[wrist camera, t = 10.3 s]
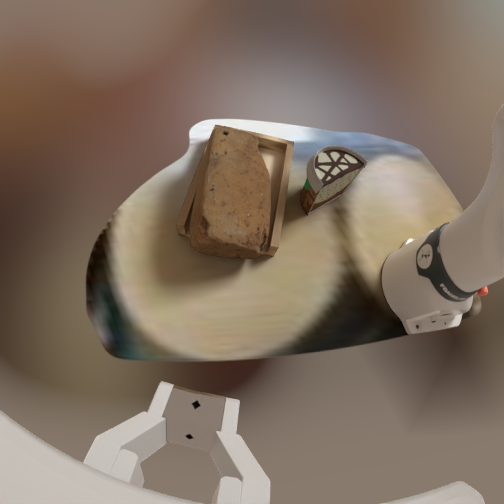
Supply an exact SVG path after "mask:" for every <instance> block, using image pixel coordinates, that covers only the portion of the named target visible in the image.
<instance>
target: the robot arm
mask: <svg viewBox="0 0 504 504" xmlns="http://www.w3.org/2000/svg"><path fill="white" fill-rule="evenodd" d="M492 137H493V156H492V162H491V167H490V171H489V174H488V177H487V179H486V182H485V184H484V187H483V188H482V190H481V192H480V194H479V195H478V197H477V198H476V199H475V201H474V202H473V203H472V204H471V205H470V206H469V207H468V208H467V209H466V210H465V211H464V212H462V213H461V214H460V215H459V216H458V217H457V218H455V219H454V220H453V221H452V222H449V223H445V224H443V225H442V226H440V227H438V228H436V229H435V230H434V231H433V230H432V231H429V232H427V233H425V234H423V235H422V236H420V237H418V238H416V239H415V240H414V239H412V238H409V239H408V240H406V241H405V242H404V243H403V245H402V247H401V248H400V249H398V250H396V251H394V252H392V253H391V254H390V255H389V256H388V258H387V259H386V261H385V263H384V266H383V270H382V287H383V291H384V295H385V298H386V300H387V302H388V304H389V306H390V307H391V309H392V310H393V312H394V313H395V314H396V315H397V316H398V317H399V318H400V319H401V321H402V323H403V326H404V328H405V330H406V332H407V333H408V334H409V335H414V334H419V333H426V332H432V331H438V330H443V329H448V328H453V327H456V326H458V325H459V323H460V321H461V318H462V313H464V312H467V311H468V310H469V309H470V307H471V304H472V300H473V294H475V293H476V292H477V291H478V296H483V295H486V294H487V293H488V290H487V285H489V284H491V283H493V282H496V281H498V280H500V279H502V278H504V104H503V105H502V106H501V107H500V108H499V110H498V111H497V113H496V115H495V118H494V121H493V125H492ZM416 326H417V328H416ZM239 405H240V401H239V400H237V399H231V398H226V397H223V396H218V395H213V394H208V393H204V392H197V391H194V390H190V389H186V388H183V387H180V386H176V385H173V384H169V383H166V382H163V381H161V382H160V384H159V386H158V388H157V391H156V393H155V395H154V397H153V400H152V402H151V405H150V407H149V409H148V411H147V412H141V413H139V414H138V415H136V416H134V417H132V418H130V419H129V420H127V421H125V422H123V423H121V424H120V425H118V426H116V427H114V428H112V429H110V430H108V431H106V432H104V433H102V434H100V435H99V436H97V437H96V438H95V440H94V442H93V444H92V446H91V448H90V450H89V452H88V454H87V456H86V458H85V460H84V462H83V463H82V462H80V461H78V460H76V459H74V458H72V457H70V456H68V455H67V454H65V453H63V452H61V451H59V450H58V449H56V448H54V447H53V446H51V445H49V444H48V443H46V442H45V441H43V440H41V439H40V438H38V437H37V436H35V435H34V434H32V433H31V432H29V431H28V430H26V429H25V428H23V427H22V426H21V425H19V424H18V423H16V422H15V421H14V420H12V419H11V418H10V417H8V416H7V415H6V414H5V413H3V412H2V411H1V410H0V504H203V503H199V502H194V501H189V500H185V499H181V498H176V497H173V496H169V495H165V494H162V493H158V492H155V491H152V490H149V489H146V488H142V486H143V482H144V478H143V474H142V470H141V466H140V463H141V462H142V461H143V460H145V459H146V458H148V457H149V456H150V455H152V454H153V453H154V452H156V451H157V450H158V449H159V448H161V447H162V446H164V445H165V444H166V442H168V443H172V444H176V445H180V446H185V447H188V448H192V449H196V450H201V451H205V452H209V453H210V455H211V457H212V459H213V461H214V463H215V465H216V467H217V469H218V472H219V474H220V476H221V480H220V482H219V484H218V487H217V489H216V491H215V494H214V496H213V499H212V504H270V480H269V478H268V477H267V476H266V474H265V473H264V471H263V470H262V468H261V467H260V465H259V464H258V462H257V461H256V459H255V458H254V456H253V455H252V453H251V452H250V450H249V449H248V447H247V445H246V444H245V442H244V441H243V439H242V438H241V436H240V435H237V434H236V430H237V422H238V413H239ZM381 504H485V502H484V500H483V497H482V496H481V494H480V493H478V492H477V491H476V490H475V489H473V488H472V487H470V486H469V485H467V484H466V483H464V482H462V481H458V482H454V483H451V484H449V485H446V486H443V487H440V488H437V489H434V490H431V491H428V492H425V493H422V494H418V495H415V496H411V497H407V498H403V499H399V500H395V501H391V502H386V503H381Z"/></svg>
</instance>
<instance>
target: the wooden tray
mask: <svg viewBox="0 0 504 504" xmlns="http://www.w3.org/2000/svg"><path fill="white" fill-rule="evenodd" d="M217 127H223V126H220V125H215V127H214V129H215V128H217ZM230 128H231V127H230ZM214 129H213V130H214ZM234 129H236V128H234ZM238 130H241V129H238ZM242 131H245V130H242ZM212 132H213V131H212ZM246 132H248V133H250V134H252V135H254V136H256V137H257V138H258V141H259V145H258V150H259V152H260V153H261V154H262V157H263V159H264V162H265V164H266V167H267V169H268V172H269V175H270V184H271V199H270V202H271V209H270V225H269V234H268V239H267V243H266V246H265V248H264V252H263V254H266V255H270V256H274V255H275V253H276V251H277V249H278V248H279V242H280V235H281V229H282V223H283V216H284V210H285V203H286V196H287V189H288V183H289V176H290V169H291V161H292V154H293V147H294V142H292V141H288V140H284V139H280V138H276V137H272V136H268V135H264V134H259V133H255V132H250V131H246ZM211 134H212V133H211ZM207 144H208V143H207ZM206 148H207V145H206ZM206 148H205V150H204V152H203V155H202V157H201V160H200V162H199V165H198V167H197V170H196V172H195V175H194V177H193V180H192V183H191V185H190V188H189V191H188V193H187V196H186V199H185V201H184V204H183V207H182V210H181V213H180V215H179V218H178V221H177V224H176V225H177V229H178V234H179V235H182V236H187V237H190V222H191V215H192V210H193V203H194V198H195V194H196V189H197V184H198V180H199V175H200V171H201V166H202V162H203V158H204V155H205V152H206Z"/></svg>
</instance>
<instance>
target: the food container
mask: <svg viewBox="0 0 504 504" xmlns="http://www.w3.org/2000/svg"><path fill="white" fill-rule="evenodd" d="M367 162H368V161H367V160H366V159H365V158H364V157H362V156H361V155H360V154H358V153H357V152H355V151H353V150H351V149H349V148H346V147H342V146H327V147H324V148H322V149H321V150H319V151H317V152H316V153H315V154H314V155H313V156H312V158H311V159H310V160H309V162H308V164H307V179H306V182H305V185H304V188H303V191H302V194H301V204H302V207H303V209H304V211H305V213H306V214H307V215H309V214H311V213H312V212H314V211H316V210H317V209H319V208H321V207H323V206H324V205H326V204H328V203H329V202H331V201H333V200H334V199H336V198H338V197H340V196H341V195H342V194H343V193H344V192H345V191H346V189H347V188H348V187H349V185H350V184H351V183H352V181H353V180H354V179H355V178H356V176H357V175H358V174H359V172H360V171H361V170H362V168H364V167H365V166H366V164H367Z"/></svg>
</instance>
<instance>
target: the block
mask: <svg viewBox="0 0 504 504" xmlns="http://www.w3.org/2000/svg"><path fill="white" fill-rule="evenodd" d="M258 145H259V141H258V138H257V137H256V136H254V135H252V134H250V133H248V132H246V131H242V130H238V129H234V128H230V127H226V126H223V127H217V128H215V129H214V130H213V132H212V134H211V136H210V138H209V141H208V144H207V148H206V152H205V155H204V158H203V162H202V166H201V171H200V175H199V180H198V184H197V189H196V194H195V198H194V203H193V210H192V215H191V222H190V245H191V247H192V248H193V249H194V250H195V251H199V252H200V253H203V254H207V255H212V256H221V257H229V258H234V257H241V258H242V259H252V258H257V257H259V256H261V255H262V254H263V252H264V248H265V246H266V243H267V239H268V234H269V225H270V209H271V202H270V199H271V184H270V175H269V172H268V169H267V167H266V164H265V162H264V159H263V157H262V154H261V153H260V152H259V150H258Z"/></svg>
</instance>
